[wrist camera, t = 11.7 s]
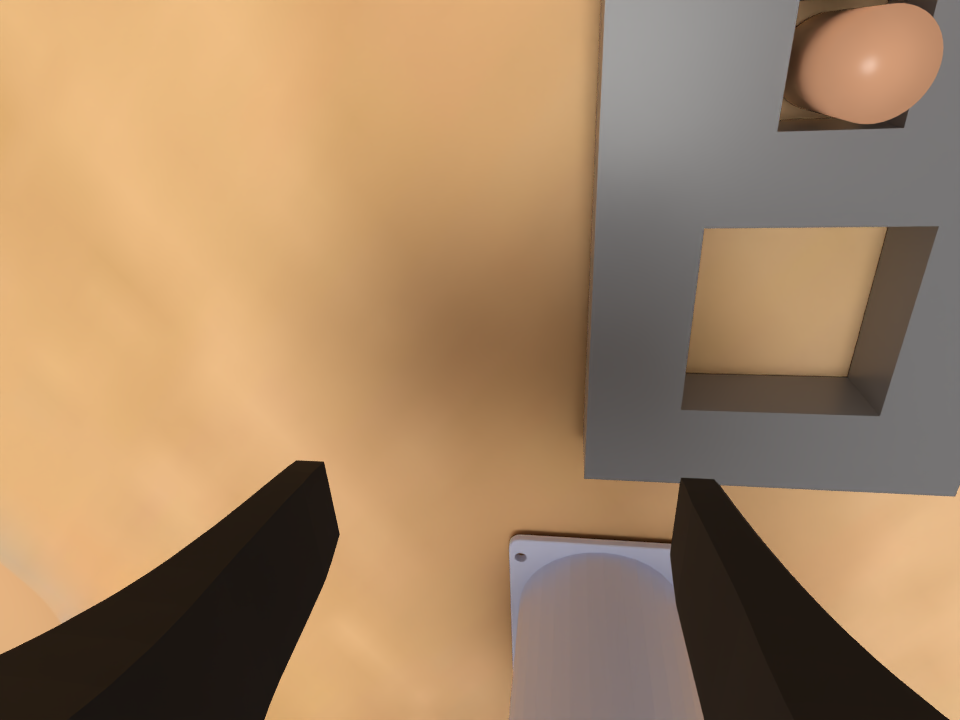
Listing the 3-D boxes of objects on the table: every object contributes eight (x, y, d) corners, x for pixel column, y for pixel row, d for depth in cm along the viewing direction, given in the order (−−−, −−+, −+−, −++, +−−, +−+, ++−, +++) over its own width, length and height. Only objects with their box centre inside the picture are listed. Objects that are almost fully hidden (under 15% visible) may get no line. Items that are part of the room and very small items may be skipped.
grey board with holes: (916, 451, 22) (954, 496, 20) (583, 438, 24) (584, 478, 21) (1108, -89, 14) (1203, -113, 12) (603, -52, 16) (608, -67, 14)
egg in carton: (859, 108, 17) (925, 122, 14) (768, 111, 17) (812, 125, 14) (882, 8, 16) (959, -1, 13) (784, 13, 16) (835, 6, 13)
